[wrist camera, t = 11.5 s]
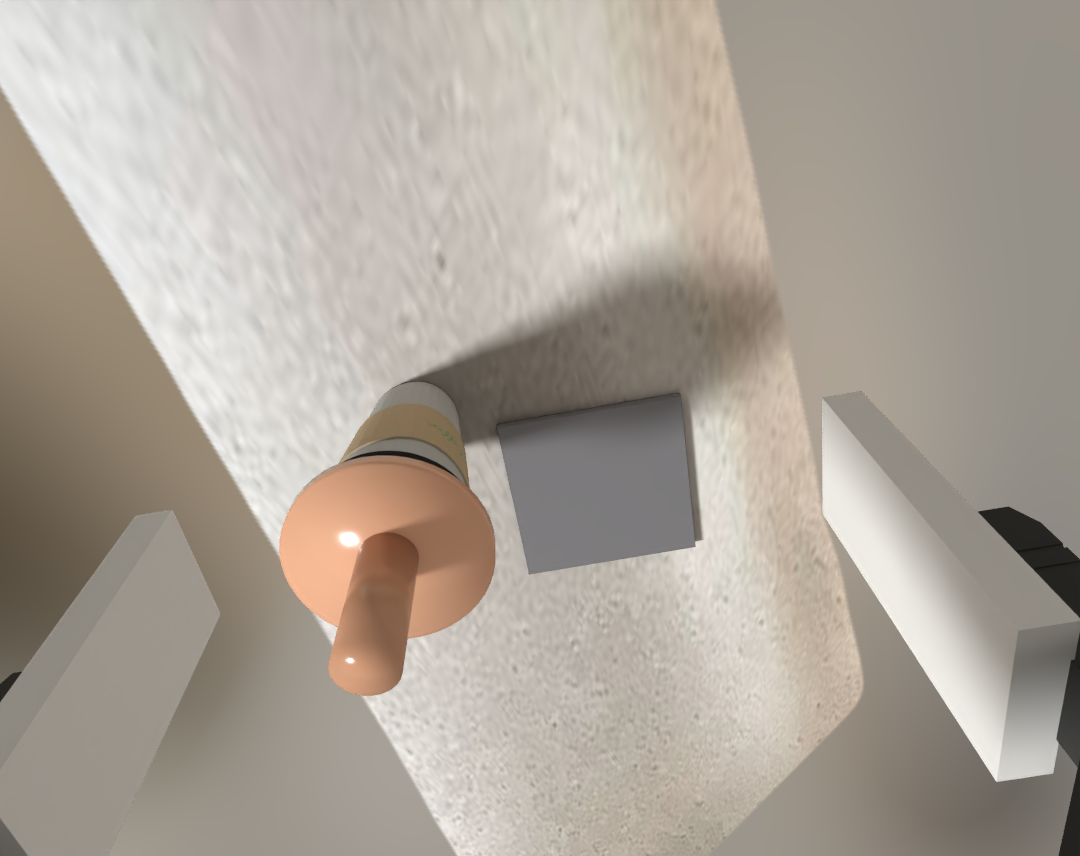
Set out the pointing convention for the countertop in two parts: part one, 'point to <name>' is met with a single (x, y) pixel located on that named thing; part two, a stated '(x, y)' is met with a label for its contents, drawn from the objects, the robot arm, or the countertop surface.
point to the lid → (385, 560)
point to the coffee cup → (414, 429)
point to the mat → (600, 483)
